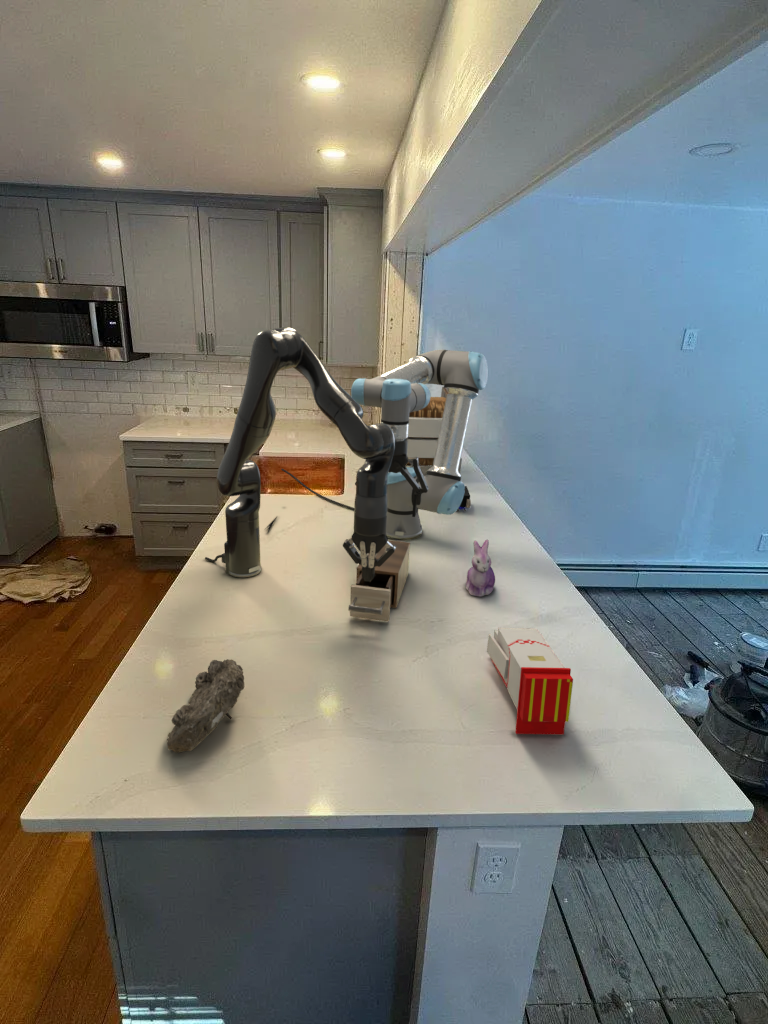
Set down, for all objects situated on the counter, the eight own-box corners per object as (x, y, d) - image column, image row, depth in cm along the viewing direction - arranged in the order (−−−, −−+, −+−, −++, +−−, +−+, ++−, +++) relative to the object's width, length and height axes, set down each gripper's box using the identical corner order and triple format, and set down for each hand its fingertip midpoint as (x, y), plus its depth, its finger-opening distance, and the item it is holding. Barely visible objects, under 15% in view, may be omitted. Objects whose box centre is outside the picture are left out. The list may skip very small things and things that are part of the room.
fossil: (192, 660, 117) (244, 628, 112) (224, 691, 120) (276, 661, 115) (142, 746, 98) (202, 712, 93) (182, 779, 101) (242, 748, 96)
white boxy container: (382, 463, 289) (386, 382, 275) (445, 464, 293) (451, 384, 279) (390, 482, 257) (394, 392, 243) (460, 483, 261) (468, 394, 247)
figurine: (477, 600, 156) (482, 550, 151) (456, 584, 164) (460, 537, 159) (504, 594, 160) (510, 545, 155) (482, 579, 168) (487, 532, 163)
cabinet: (396, 608, 150) (398, 573, 147) (355, 602, 152) (356, 567, 149) (408, 574, 170) (410, 542, 166) (371, 569, 172) (373, 538, 168)
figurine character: (470, 516, 223) (465, 500, 237) (473, 499, 220) (467, 484, 233) (453, 516, 223) (449, 500, 236) (455, 498, 220) (451, 483, 233)
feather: (285, 510, 221) (287, 506, 220) (266, 535, 194) (269, 530, 194) (281, 507, 221) (283, 503, 220) (262, 532, 194) (265, 527, 193)
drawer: (384, 633, 137) (385, 602, 134) (344, 628, 138) (344, 597, 135) (401, 586, 160) (402, 558, 157) (366, 582, 162) (367, 554, 159)
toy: (534, 612, 132) (582, 675, 102) (529, 665, 135) (574, 741, 105) (482, 611, 131) (516, 674, 102) (478, 664, 134) (510, 740, 105)
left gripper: (338, 514, 127) (337, 583, 133) (396, 520, 125) (392, 590, 131) (346, 503, 134) (345, 570, 140) (401, 509, 132) (397, 576, 138)
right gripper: (345, 437, 150) (343, 512, 158) (439, 445, 146) (433, 522, 154) (352, 432, 157) (350, 504, 165) (441, 439, 153) (435, 513, 161)
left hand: (368, 579), depth 135 cm, fingers closed
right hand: (390, 512), depth 159 cm, fingers open, 13 cm apart
